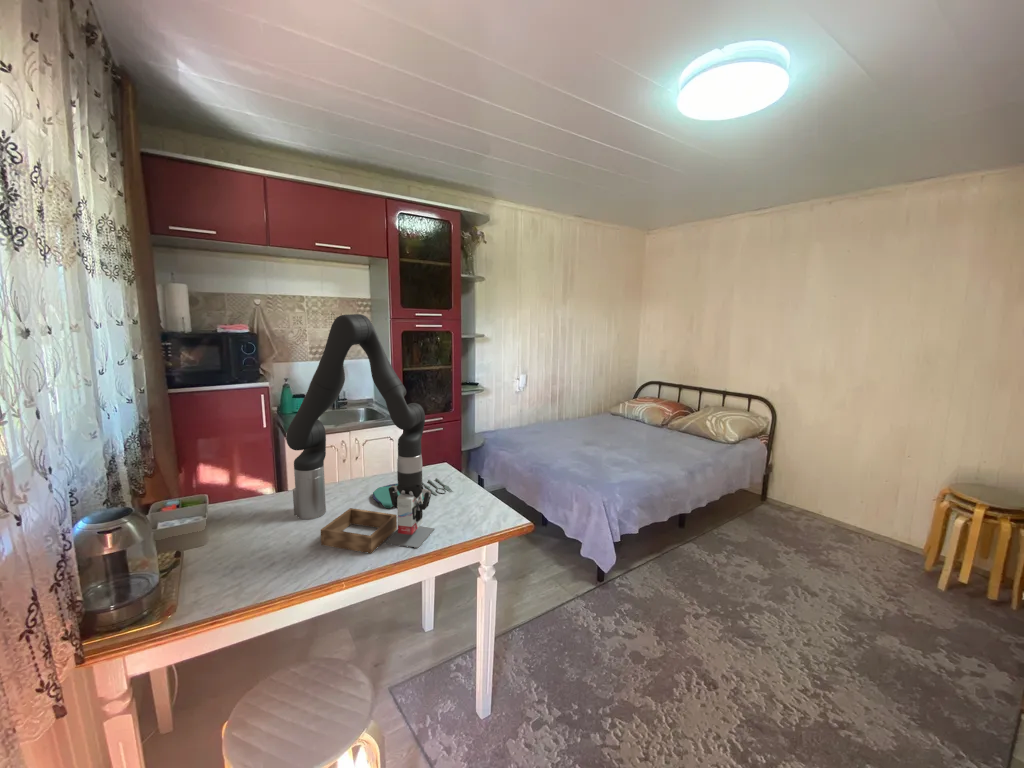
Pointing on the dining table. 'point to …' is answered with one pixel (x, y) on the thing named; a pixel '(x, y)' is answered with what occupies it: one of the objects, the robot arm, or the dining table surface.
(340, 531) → the wooden tray
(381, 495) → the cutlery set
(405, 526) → the ink box
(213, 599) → the dining table surface
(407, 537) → the rubber mat
